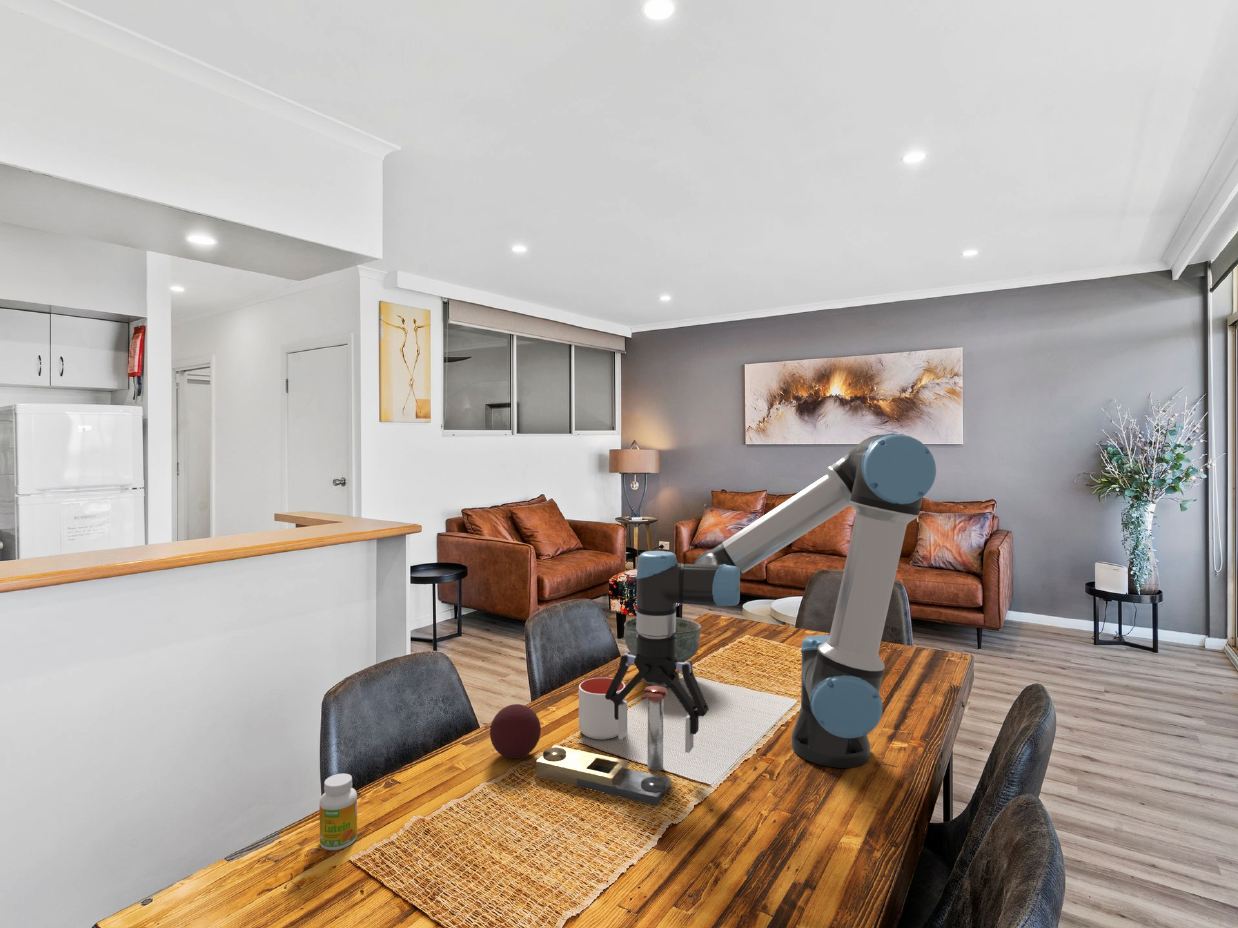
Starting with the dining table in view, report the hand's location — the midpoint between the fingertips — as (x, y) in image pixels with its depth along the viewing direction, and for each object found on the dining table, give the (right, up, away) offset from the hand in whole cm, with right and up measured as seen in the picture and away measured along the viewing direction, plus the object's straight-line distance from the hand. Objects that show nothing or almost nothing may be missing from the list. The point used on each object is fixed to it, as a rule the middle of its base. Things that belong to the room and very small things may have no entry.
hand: (655, 742), depth 126 cm
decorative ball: (-28, -5, +5) cm, 28 cm away
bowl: (+4, -3, +47) cm, 48 cm away
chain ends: (-10, -5, -5) cm, 12 cm away
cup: (-11, -4, +16) cm, 20 cm away
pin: (0, -5, 0) cm, 5 cm away
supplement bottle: (-51, -6, -23) cm, 56 cm away
